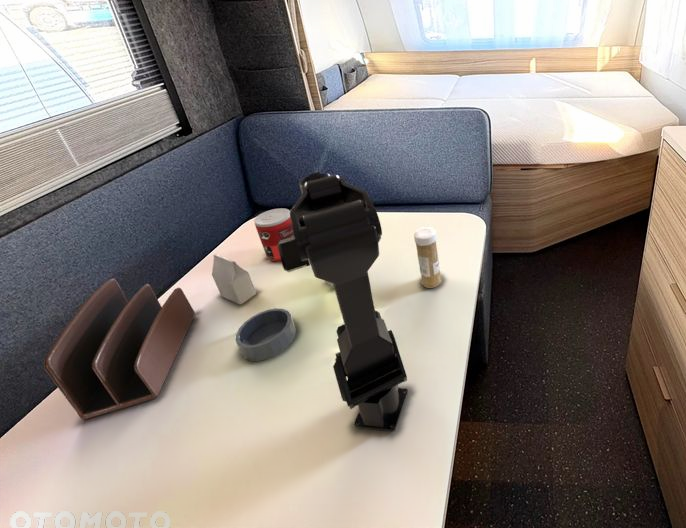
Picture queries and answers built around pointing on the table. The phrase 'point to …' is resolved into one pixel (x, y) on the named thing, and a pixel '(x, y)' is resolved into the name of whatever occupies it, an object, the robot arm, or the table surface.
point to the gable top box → (232, 280)
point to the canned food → (273, 230)
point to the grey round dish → (265, 334)
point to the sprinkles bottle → (428, 256)
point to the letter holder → (118, 349)
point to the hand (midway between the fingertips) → (333, 249)
